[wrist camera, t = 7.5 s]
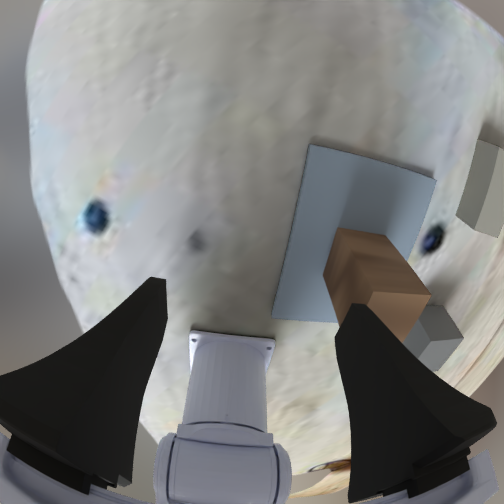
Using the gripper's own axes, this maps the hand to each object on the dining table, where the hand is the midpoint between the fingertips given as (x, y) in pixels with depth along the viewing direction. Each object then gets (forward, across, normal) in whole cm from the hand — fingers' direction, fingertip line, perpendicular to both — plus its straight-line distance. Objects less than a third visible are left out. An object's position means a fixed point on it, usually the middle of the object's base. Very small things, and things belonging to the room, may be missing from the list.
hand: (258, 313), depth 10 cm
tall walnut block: (+9, -8, +2) cm, 12 cm away
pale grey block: (+10, -18, -7) cm, 22 cm away
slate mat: (+9, -8, +2) cm, 12 cm away
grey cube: (+10, -19, +9) cm, 23 cm away
